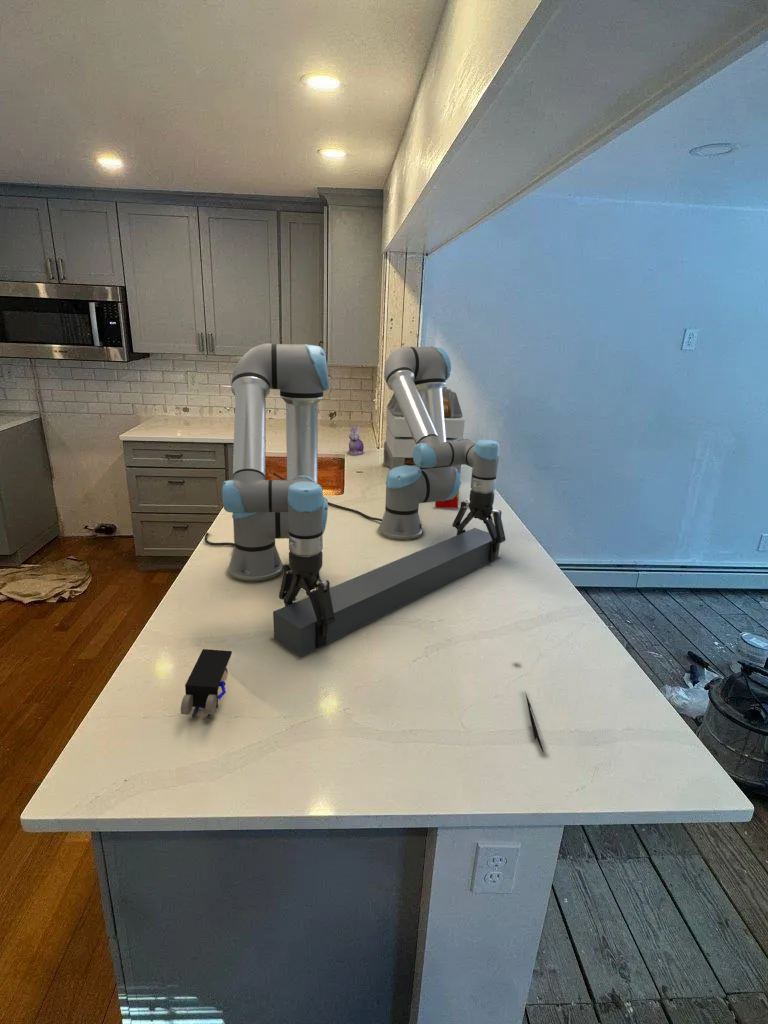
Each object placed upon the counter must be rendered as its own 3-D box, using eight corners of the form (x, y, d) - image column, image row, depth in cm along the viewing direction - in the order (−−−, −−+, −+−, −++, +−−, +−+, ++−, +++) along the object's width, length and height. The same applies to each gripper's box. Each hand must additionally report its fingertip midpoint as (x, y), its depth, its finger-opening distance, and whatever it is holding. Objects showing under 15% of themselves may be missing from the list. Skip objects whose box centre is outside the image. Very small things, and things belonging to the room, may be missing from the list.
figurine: (351, 455, 300) (352, 427, 295) (343, 451, 309) (344, 424, 304) (367, 454, 304) (368, 426, 299) (359, 450, 313) (360, 423, 308)
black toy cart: (217, 731, 106) (235, 675, 120) (214, 701, 103) (232, 647, 116) (181, 730, 106) (203, 674, 119) (176, 700, 103) (199, 646, 116)
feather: (517, 669, 129) (522, 662, 128) (543, 757, 102) (550, 750, 102) (511, 665, 129) (516, 659, 128) (535, 752, 102) (542, 745, 101)
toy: (452, 466, 252) (464, 476, 223) (451, 496, 255) (462, 509, 226) (425, 465, 252) (433, 475, 222) (424, 495, 254) (431, 508, 225)
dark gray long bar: (472, 548, 191) (474, 527, 188) (498, 557, 184) (500, 536, 182) (273, 639, 134) (273, 611, 132) (300, 657, 128) (300, 628, 125)
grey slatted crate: (382, 463, 289) (386, 382, 275) (445, 464, 293) (451, 384, 279) (390, 482, 257) (394, 392, 243) (460, 483, 261) (468, 394, 247)
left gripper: (261, 540, 132) (264, 623, 139) (326, 572, 117) (325, 663, 125) (287, 532, 137) (289, 613, 144) (352, 562, 122) (350, 650, 130)
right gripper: (444, 483, 181) (439, 546, 188) (509, 502, 166) (501, 570, 173) (458, 479, 186) (453, 541, 193) (522, 497, 171) (514, 563, 178)
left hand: (305, 636), depth 135 cm, fingers closed on dark gray long bar, 10 cm apart
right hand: (475, 554), depth 183 cm, fingers open, 11 cm apart
